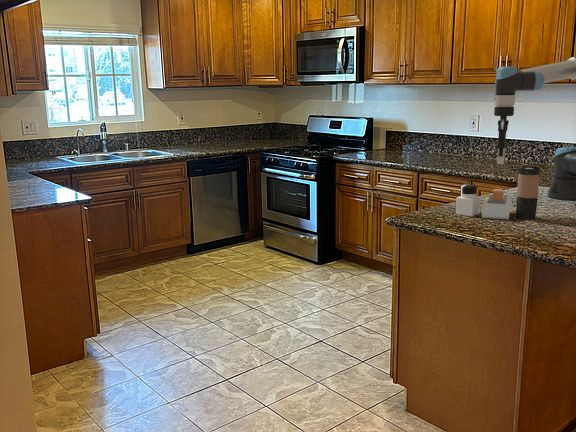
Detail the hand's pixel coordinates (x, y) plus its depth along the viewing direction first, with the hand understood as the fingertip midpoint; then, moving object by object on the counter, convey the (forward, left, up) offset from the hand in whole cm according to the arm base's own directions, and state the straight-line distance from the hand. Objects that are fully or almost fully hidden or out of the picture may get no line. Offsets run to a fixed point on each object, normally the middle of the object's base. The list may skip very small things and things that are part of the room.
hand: (500, 164), depth 234 cm
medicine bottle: (+11, +12, -20) cm, 25 cm away
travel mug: (-11, +12, -20) cm, 26 cm away
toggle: (0, +7, -13) cm, 15 cm away
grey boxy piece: (0, +10, -19) cm, 22 cm away
